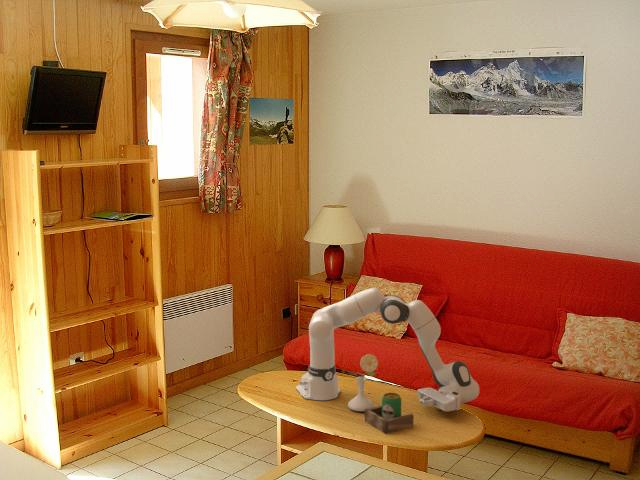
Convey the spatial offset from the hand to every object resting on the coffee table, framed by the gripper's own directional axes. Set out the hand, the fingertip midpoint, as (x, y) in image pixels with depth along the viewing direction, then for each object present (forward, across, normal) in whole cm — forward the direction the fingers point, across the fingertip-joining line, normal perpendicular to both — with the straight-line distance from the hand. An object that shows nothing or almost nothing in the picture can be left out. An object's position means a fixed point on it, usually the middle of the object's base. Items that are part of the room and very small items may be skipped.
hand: (421, 402), depth 322 cm
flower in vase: (+17, -19, +6) cm, 27 cm away
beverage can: (+15, 0, +6) cm, 17 cm away
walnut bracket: (+17, 0, +6) cm, 18 cm away
